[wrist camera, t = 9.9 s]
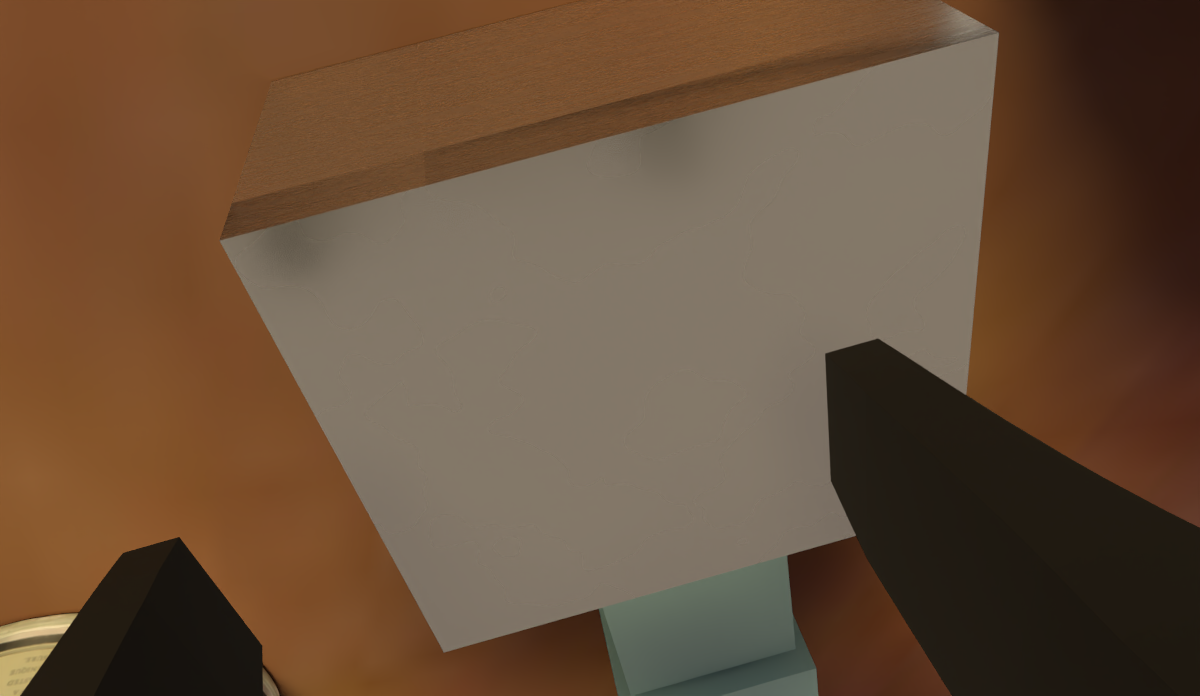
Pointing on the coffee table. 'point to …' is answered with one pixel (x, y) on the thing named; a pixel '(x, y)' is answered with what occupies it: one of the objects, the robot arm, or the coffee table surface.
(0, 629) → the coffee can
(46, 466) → the coffee table surface
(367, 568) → the coffee table surface
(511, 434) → the housing
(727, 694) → the end cover
